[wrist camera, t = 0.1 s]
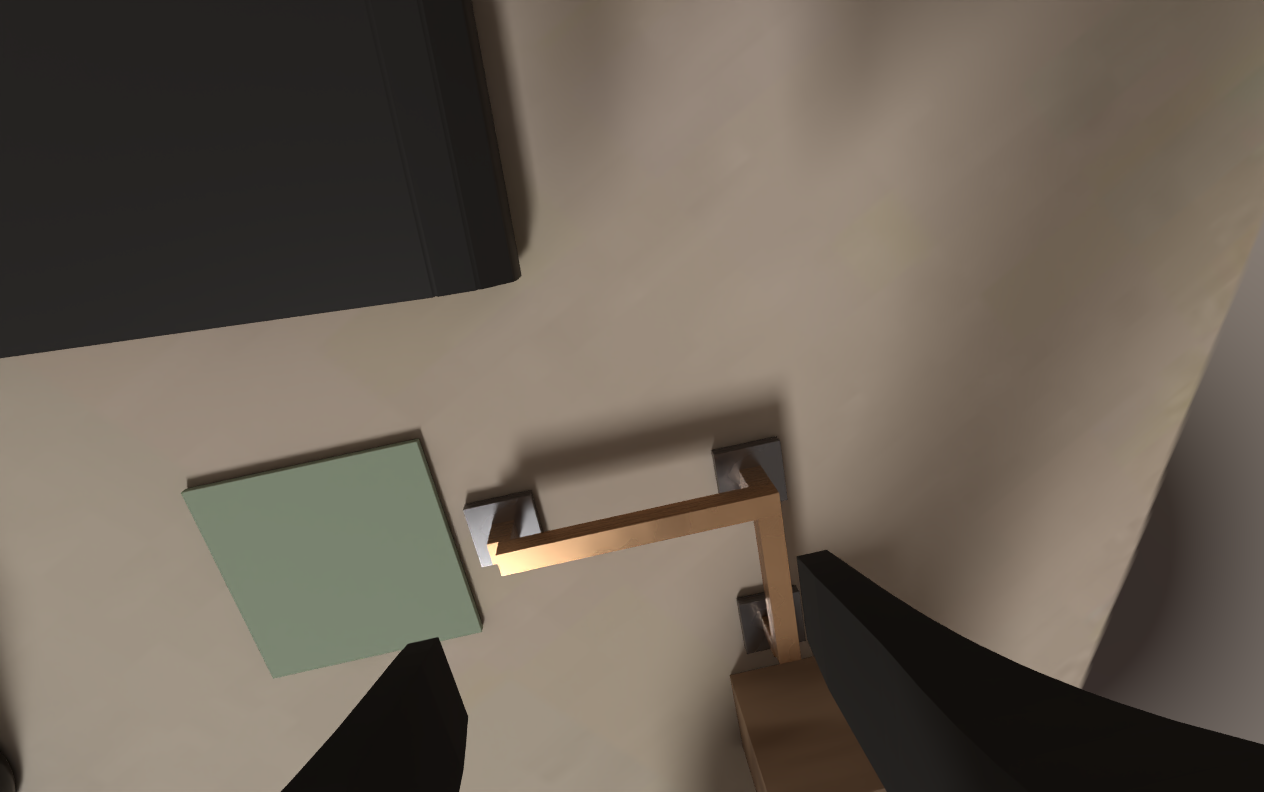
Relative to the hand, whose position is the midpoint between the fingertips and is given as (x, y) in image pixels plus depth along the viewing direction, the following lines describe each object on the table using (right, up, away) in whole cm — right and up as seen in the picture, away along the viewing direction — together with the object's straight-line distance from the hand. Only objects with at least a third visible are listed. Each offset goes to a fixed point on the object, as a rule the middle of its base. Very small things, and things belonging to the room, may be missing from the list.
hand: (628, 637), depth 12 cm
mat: (-10, -1, +10) cm, 14 cm away
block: (+6, -8, +14) cm, 17 cm away
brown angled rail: (+1, -2, +11) cm, 11 cm away
